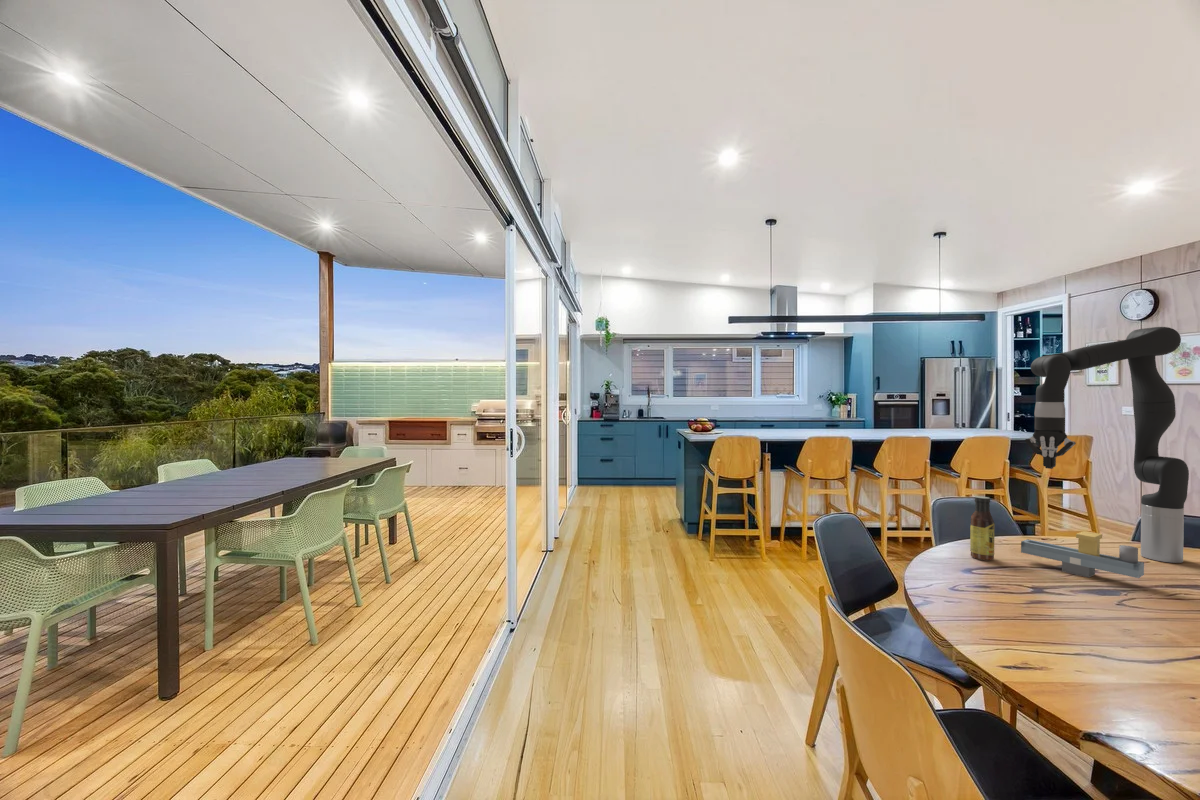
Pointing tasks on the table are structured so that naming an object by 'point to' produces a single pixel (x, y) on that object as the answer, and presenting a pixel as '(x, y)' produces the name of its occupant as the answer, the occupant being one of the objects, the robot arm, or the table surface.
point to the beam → (1087, 559)
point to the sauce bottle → (982, 530)
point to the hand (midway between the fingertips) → (1049, 468)
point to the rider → (1089, 543)
